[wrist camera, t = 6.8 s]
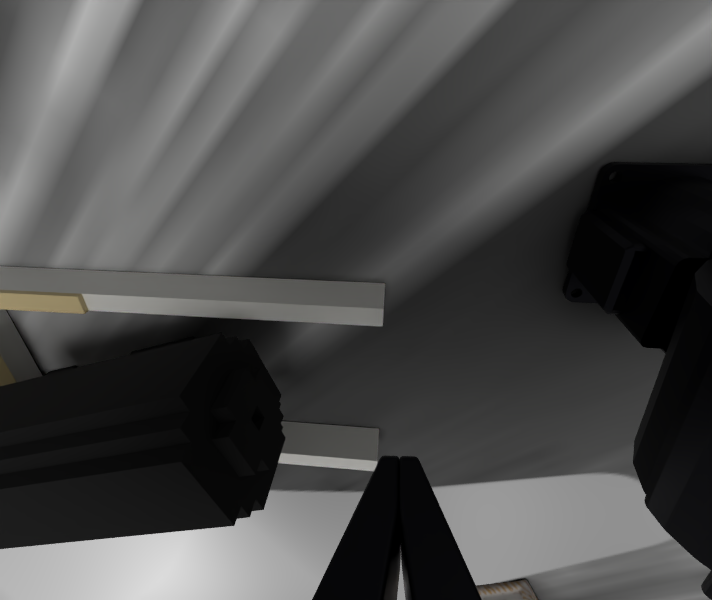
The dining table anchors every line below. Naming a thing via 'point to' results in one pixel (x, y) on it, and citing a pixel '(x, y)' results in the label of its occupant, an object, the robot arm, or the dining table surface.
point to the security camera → (139, 444)
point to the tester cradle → (202, 299)
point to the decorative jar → (507, 591)
